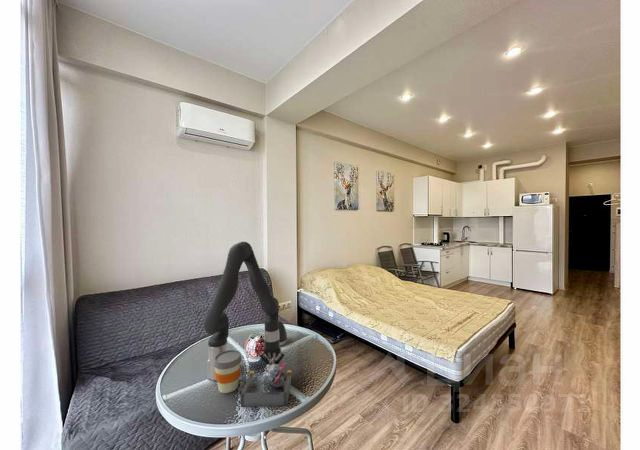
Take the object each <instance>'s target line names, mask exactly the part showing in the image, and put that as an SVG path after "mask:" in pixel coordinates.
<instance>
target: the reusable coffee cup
mask: <svg viewBox="0 0 640 450" xmlns="http://www.w3.org/2000/svg"><path fill="white" fill-rule="evenodd" d="M241 363H242V353H241V352H240V351H239V350H236V349H229V350H228V349H227V351H224V352H221V353H219V354H218V355H216V356H215V359H214V367H215V376H216V380H215V381H216V382H217V388H218V392H220V393H222V394H228V393H232V392H234V391H236V390H237V388H238V387H239V382H240V381H239V380H240V376H241V370H242V369H241V368H242V364H241Z"/></svg>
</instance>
